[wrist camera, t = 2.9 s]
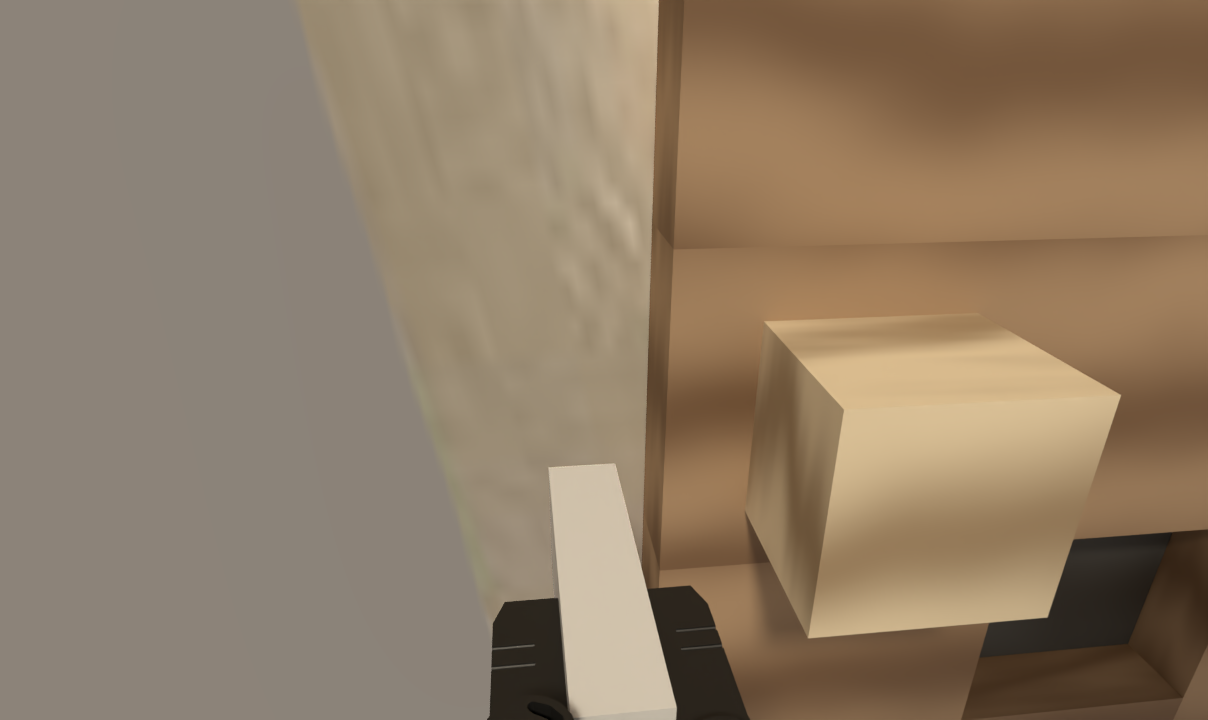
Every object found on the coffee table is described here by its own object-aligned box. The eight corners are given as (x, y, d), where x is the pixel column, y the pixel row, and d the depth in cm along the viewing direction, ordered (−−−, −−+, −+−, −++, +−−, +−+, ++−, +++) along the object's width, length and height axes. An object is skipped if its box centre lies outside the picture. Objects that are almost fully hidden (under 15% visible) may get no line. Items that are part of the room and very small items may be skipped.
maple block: (763, 321, 19) (844, 409, 14) (978, 312, 19) (1121, 395, 15) (745, 510, 21) (808, 638, 16) (935, 497, 22) (1047, 617, 17)
